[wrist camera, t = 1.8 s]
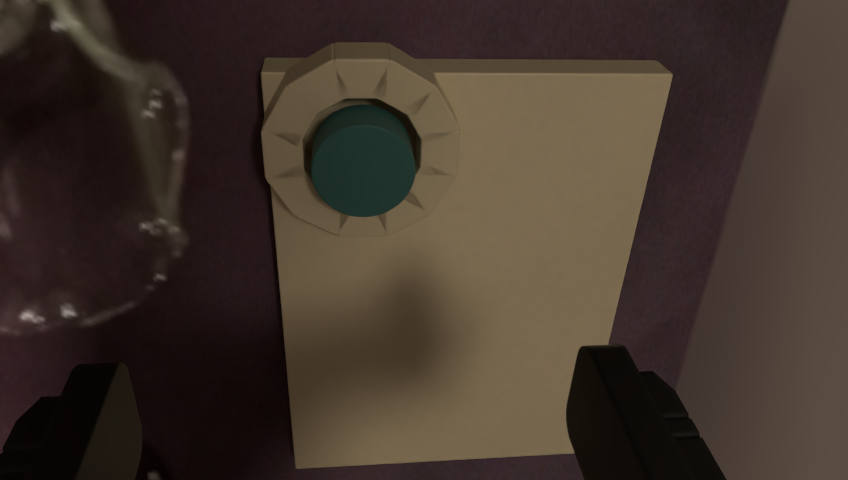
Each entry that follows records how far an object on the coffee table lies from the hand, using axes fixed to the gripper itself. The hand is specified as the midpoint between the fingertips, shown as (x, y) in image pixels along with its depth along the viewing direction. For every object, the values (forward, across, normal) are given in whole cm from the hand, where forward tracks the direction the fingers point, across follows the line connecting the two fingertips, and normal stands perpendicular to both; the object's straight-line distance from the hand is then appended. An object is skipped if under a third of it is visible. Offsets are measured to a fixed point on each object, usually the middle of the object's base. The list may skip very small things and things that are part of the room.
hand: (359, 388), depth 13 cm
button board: (+13, -4, +7) cm, 15 cm away
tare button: (+10, 0, 0) cm, 10 cm away
